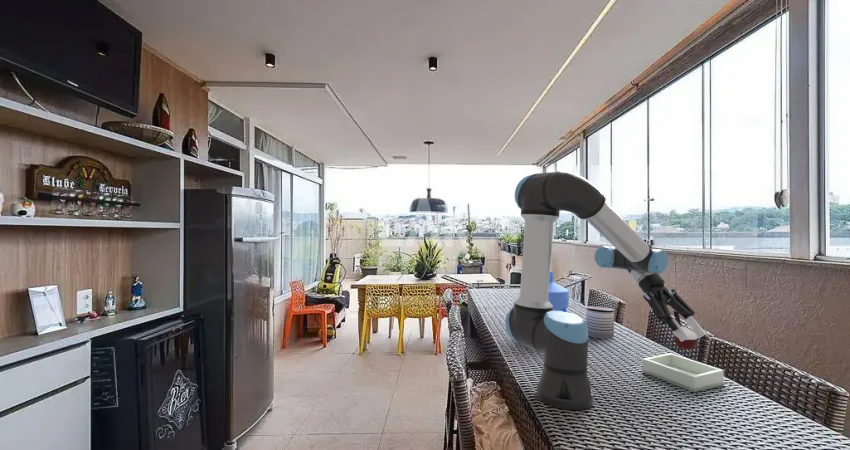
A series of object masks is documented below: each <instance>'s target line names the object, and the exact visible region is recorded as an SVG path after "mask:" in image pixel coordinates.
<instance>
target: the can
mask: <svg viewBox="0 0 850 450" xmlns="http://www.w3.org/2000/svg"><path fill="white" fill-rule="evenodd" d="M585 313H586V316H585V317H586V319H585V321H586V323H587V326H588V337H589V336H590V337H593V338H599V339H611V338H613V337H615V335H614V333H615V309H614V308H611V307H605V306H604V307H603V306H592V305H591V306H586V312H585Z"/></svg>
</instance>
